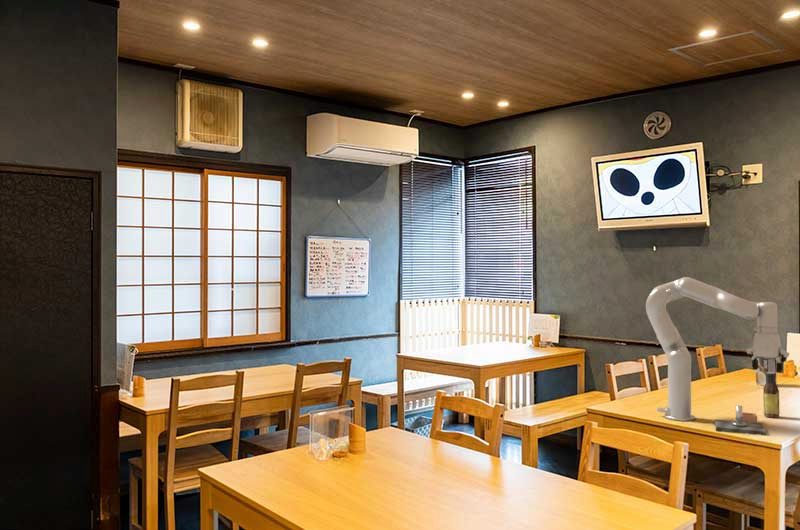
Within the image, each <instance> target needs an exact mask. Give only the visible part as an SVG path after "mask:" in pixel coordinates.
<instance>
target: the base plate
mask: <svg viewBox="0 0 800 530" xmlns="http://www.w3.org/2000/svg"><path fill="white" fill-rule="evenodd" d="M733 421H734V420H725V419H714V426H715V427H716V428H715V427H714V428H715V431H716V432H722V431H724V433H733V434H735V433H736V434H745V433H748V434H747V435H756V434H761V435H760V436H767V431H766V429H765V426H764V424H763V423H762V422H757V423H752V422H745V423H747V427H737V426H733V425H731V422H733Z"/></svg>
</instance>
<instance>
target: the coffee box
mask: <svg viewBox="0 0 800 530" xmlns="http://www.w3.org/2000/svg"><path fill="white" fill-rule="evenodd" d="M757 360H758V369H755V381H756V382H755V385H756V384H760V385H759V386H762V385H765V384H766V373H767V372H771V373H776V374H777V360H776V359H775V358H766V357H758V358H757ZM775 381H776V382H777V376H776V377H775Z"/></svg>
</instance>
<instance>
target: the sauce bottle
mask: <svg viewBox="0 0 800 530" xmlns="http://www.w3.org/2000/svg"><path fill="white" fill-rule="evenodd" d="M775 377H776V378H777V372H776V373H771V372H767V373H766V384H765V386H763V388H762V389H763V393H762V394H763V399H762V400H763V416H764V417H766V418H771V419H776V418H780V390H779V387H778V384H777V380H776V381H775Z"/></svg>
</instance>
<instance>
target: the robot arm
mask: <svg viewBox="0 0 800 530" xmlns="http://www.w3.org/2000/svg"><path fill="white" fill-rule="evenodd" d="M684 297H687V298H689V299H691V300H694V301H697V302H698V303H699V302H700V303H702V304H704V305H708V306H710V307H712V308H714V309H720V310H722V311H725V312H727V313H731V314H733V315H736V316H738V317H741V318H744V319H746V320H753V319H756V318H757V319H756V320H757V321H756V323H757V324H756V327H754V328H753V330H754V331H756V333H755V334H754V336H753V337H754V338H753V343H752V346H751V347H748V348H746V349H745V351H746V353H747V356H748V357H749V358H750V359H751V364H752V365H751V366H752V370H753V371H754V370H755V371H756V369H758V360H757V358H758V357H766V358H775V359H776V373H782V372H783V370H784V369H783V367H784V365H783V363H785V361H787V359H788V358H789V356H790V352H789V351H786V350H784V349H783V348H782V343H781V338H780V334H778V304H777V303H776V302H772V301H761V302H756V301H750V300H747V299H745V298H742V297H739V296H738V295H737V296H736V295H734V294H732V293H729V292H727V291H725V290H723V289H721V288H719V287H717V286H714V285H710V284H708V283H705V282H703V281H700V280H697V279H695V278H692V277H689V276H683V277H681V278H679V279H676V280H673V281H670V282H666V283H663V284H660V285H658V286H655V287H654V288H653V289H652V290H651V292H650V293H649V295H648V297H647V298H646V301H645V312H646V315H647V318H648V320H649V322H650V323H651V326H652V328H653V331H654V333H655V335H656V338H657V340H658V342H659V344H660V345H661V348H662V349H663V352H664V353H665V355H666V357H667V407H666V406H665V407H661V406H660V407H658V406H657V412H659V413H664V418H665V417H666V419H669V420H673V421H681V422H690V421H694V420H696V417H695V415H693V414H692V356H691V353H690V351H689V350H688V348H687V346H686V344H685V342H684V340H683V338H682V336H681V334H680V331H679V330H678V328H677V327H676V326H675V325H674V322H673V321H672V319H671V316H670V315H669V313H668V310H667V304H668V303H670V302H673V301H676V300H678V299H682V298H684ZM782 355H783V357H782Z"/></svg>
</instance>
